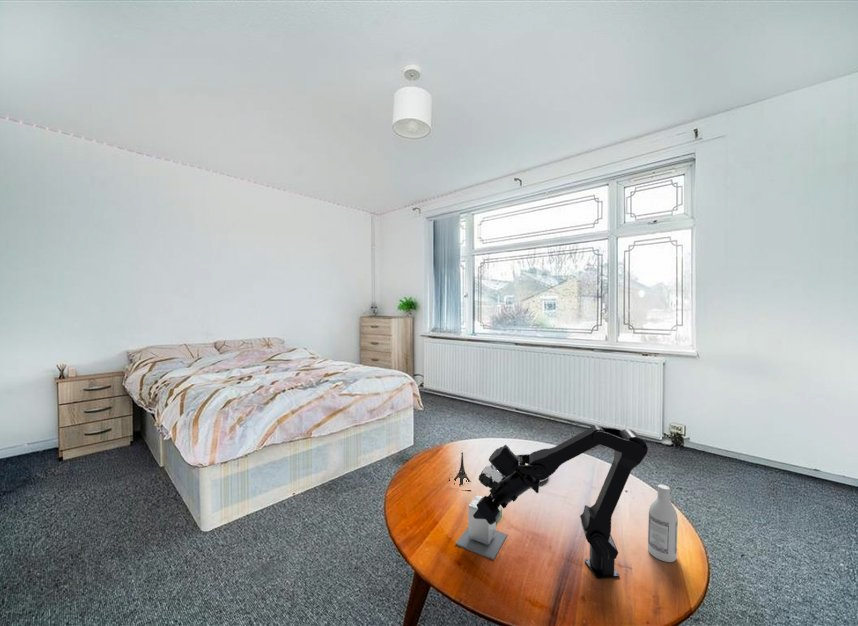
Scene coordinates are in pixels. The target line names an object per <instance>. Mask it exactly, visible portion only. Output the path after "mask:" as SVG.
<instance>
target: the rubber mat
mask: <svg viewBox="0 0 858 626" xmlns="http://www.w3.org/2000/svg"><path fill="white" fill-rule="evenodd" d="M507 537H508V534H507V533H505V532H501V531H499V530H496V534H495V535H494V537H493V539H492V540H491V542H490V543H489V545H486V544H484V543H481V542H478V541H476V540H473V539H470V538H468V526H467V527H466V529H465V530H464V532H463V533H462V534H461V535H460V537H459V538H458V539H457V540H456V542H455V545H456V546H458V547H461V548H463V549H464V550H465V549H466V550H468V551H471V552H472V553H475V554H478V555H480V556H482V557H486V558H487V559H490V560H493V561H494V560H495V559H496V557H497V555H498V554H499V552H500V550H501V548H502V546H503V544H504V542H505V541H506V539H507Z"/></svg>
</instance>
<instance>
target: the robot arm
mask: <svg viewBox="0 0 858 626" xmlns="http://www.w3.org/2000/svg"><path fill="white" fill-rule="evenodd" d="M598 446H603V447H607V448H609V449H611V450H612V451H614V452H613V455H614V456H613V460H612V463H611V466H610V468H609V469H608V472H607V474H606V477H605V479H604V482H603V484H602V486H601V489H600V491H599V494H598V496H597V499H596V501H595V503H594V504H593V505H591V506H589V505H587V504H585V505H584V508H583V511H582V514H580V516H579V517H580V522H581V527H582V529H583V533H584V536H585V539H586V541H587V543H588V544H589V558H584V563H586V566H588V568H589V570H590V571H591V572H592V573H593V574H594V576H595V577H596V578H597V579H607V578H608V579H610V578H620V573H619V571H618V570H617V569H616V568H615V562H616V561H615V559H617V556H618V554H619V550H618V549H617V546H616V543H615V541H614V538H613V536H612V534H611V532H612V517H613V514H614V512H615V509H616V507H617V505H618V502H619V500H620V498H621V495H622V493H623V491H624V488H625V486H626V483H628V482H627V481H628V479H629V478H630V474H631V472H632V470H633V469H635V468H636V467H638V466H639V465H641V464H642V462H643V460H644V458H645V457H646V456H647V455H648V452H649V448H648V445H647V443H646V442H645V440H643V439H642V437H640V435H639V434H638V433H637V432H636V431H634V430H632V429H630V428H628V429H627V428H626V429H619V428H616V427H615V428H614V427H605V426H600V425H597V424H594V425H592V426H590V427H589V428H588V429H586V430H584V431H581V432H579V434H576V435H574V436H572V437H571V438H569V439H567V440H565V441H563V442H561V443H559V444H557V445H556V446H554V447H553V446H552V447H549V448H542V449H538V450H536V451H533V452H531V453H530V454H529V453H528V454H527V453H526V454H515V453H514V452H513V451H512V450H511V449H510V447H509V446H508V445H507V444H505V445H502V446H500V447H498V448H496V449H495V450H494V451H493V452H492V453H491V454H490V456H489V458H488V462H489V463H490V464H491V466H489V465H486V466H485V467H484V468H483V469H482V470H481V473H480V474H479V475H478V481H479V483H480V484H481V485H482V486H484V487H486V488H489V490H488V491H489V494H488V496H487V495H485V496H482V497H483V498H481V500H480V501H479V502H478V503H477V508H478V510H477V511H476V512H475V513H474V515H473V517H474V518H475V519H486V520H487V522H488V523H489V524H490V525H492V524H493V523H495V522H496V521H497V519H498V517H499V516H500V511H499V509H498V508H499V507H500V506H501V508H502V510H503V509H506V508H507V506H508V505H509V503H512V502H516V501H517V499H518V498H519V496H521V495H522V494H524V493H525V492H527V491H528V490H530V489H532V490H533V491H534V492H535V493H536V494H539V492H540V483H541V482H540V480H544V481H546V480H547V479H548V478H550V476H552V475H553V474H554V473H555V472H556V471H557V470H558V469H559V468H560V467H561V466H562V465H563V464H564V463H566V462H568V461H570V460H572V459H574V458H576V457H578V456H580V455H582V454H584V453H585V452H587V451H590V450H592V449H594V448H595V447H598ZM516 455H517V457H516ZM525 463H527V464H528V465H525ZM492 465H493V466H494V467H495V468H496V469H497V470H498V471H499V472H500V473H501V474H502V475H500V474H499V473H498V472H496V471H495V470H494V469H493V467H492ZM545 479H546V480H545ZM496 523H497V522H496Z"/></svg>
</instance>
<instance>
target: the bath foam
mask: <svg viewBox="0 0 858 626" xmlns="http://www.w3.org/2000/svg"><path fill="white" fill-rule="evenodd" d="M670 495H671V488H670V487H669V486H668V485H665V484H663V483H662V484H661V483H660V484H658V485H657V497H656V498H655V499H654V500H653V501H652V502H651V504H650V505H649V508H648V529H647V530H648V531H647V550H648V552H649V554H651V555H652V556H653V557H654V558H656V559H657V560H660V561H663V562H664V563H673V562H675V561H676V560H677V554H678V553H677V551H678V523H679V522H678V521H679V520H678V513H677V510H676V508H675V507H674V505H673V503H672V502H671V501H670V500H671V499H670Z"/></svg>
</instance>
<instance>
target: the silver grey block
mask: <svg viewBox="0 0 858 626" xmlns="http://www.w3.org/2000/svg"><path fill="white" fill-rule="evenodd" d="M483 497H484V496H480V495H476V496H475V497H474V498H473V499H472V501H470V503H469V504H468V523H467V524H468V526H467V527H468V538H470V539H473V540H476V541H478V542H481V543H484V544H486V545H489V543H490V542H491V540H492V539H493V537H494V535H495V534H496V531H497V522H495V523H493V524H492V525H490V524H489V523H488V522H487V520H486V519H475V518H474V517H473V515H474V513H475V512H476V511H477V510H478V508H477V503H478V502H479V501H480V500H481V498H483Z"/></svg>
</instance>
